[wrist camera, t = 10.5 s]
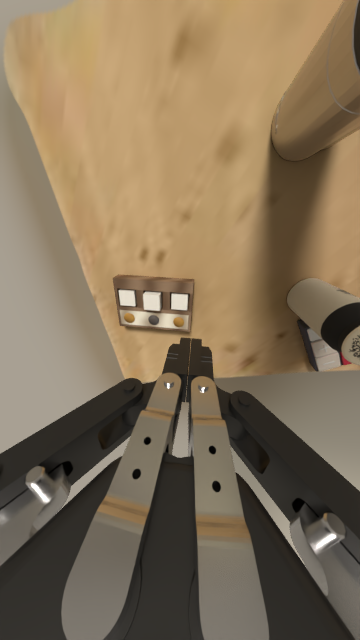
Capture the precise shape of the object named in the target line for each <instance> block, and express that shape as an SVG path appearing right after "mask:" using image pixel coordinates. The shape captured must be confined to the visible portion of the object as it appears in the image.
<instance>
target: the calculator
mask: <svg viewBox="0 0 360 640" xmlns="http://www.w3.org/2000/svg"><path fill="white" fill-rule="evenodd" d="M297 323H298V326H299V329H300V332H301V335H302V337H303V341H304V344H305V348H306V351H307V354H308V358H309V361H310V364H311V365H312V366H313V368H314V369H315V370H316V371H324V370H328V369H332V368H336V367H339V366H341V365H347V364H351V363H350V362H349V361H347V360H346V359H345V358H344V356H343V355H342V352H338V351H336V350H334V349H332V348H331V347H330V346H329V345H328V344H327V343H326V342H325V341H324V340H323V339H322V338H321V337H319V336H318V335H317V334H316V333H315V332H314V331H313V330H312V329H311V328H310V327H309V326H308V325H307V324H306V323H305V322H304V321H303V320H302V319H299V320H298V321H297Z"/></svg>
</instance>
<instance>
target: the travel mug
mask: <svg viewBox="0 0 360 640" xmlns="http://www.w3.org/2000/svg"><path fill="white" fill-rule="evenodd" d="M287 303H288V306H289V307H290V309H291V310H292V311H294V312H295V313H296V314H297V315H298V316H299V317H300V318H301V319H302V320H303V321H304V322H305V323H306V324H307V325H308V326H309V327H310V328H311V329H312V330H313V331H314V332H315V333H316V334H317V335H318V336H319V337H321V338H322V339H323V340H324V341H325V342H326V343H327V344H328V345H329V346H330V347H331V348H332V349H334V350H336V351H338V352H342V355H343V356H344V358H345V359H346V360H347V361H349V362H350V363H353V364H356V365H360V298H358V297H356V296H354V295H352V294H350V293H348V292H346V291H344V290H341V289H339V288H337V287H335V286H333V285H331V284H329V283H327V282H325V281H322V280H320V279H317V278H309V279H305V280H302V281H300V282H298V283H297V284H296V285H295V286H293V288H292V289H291V290H290V292H289V294H288V296H287Z"/></svg>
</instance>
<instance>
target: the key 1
mask: <svg viewBox="0 0 360 640" xmlns="http://www.w3.org/2000/svg"><path fill="white" fill-rule="evenodd" d="M119 298H120V305H124V306H136V305H137V296H136V290H132V289H120V290H119Z"/></svg>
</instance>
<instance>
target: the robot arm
mask: <svg viewBox="0 0 360 640" xmlns="http://www.w3.org/2000/svg"><path fill="white" fill-rule="evenodd" d="M359 129H360V0H343V2H342V4H341V5H340V7H339V8H338V10H337V12H336V13H335V15H334V16H333V18H332V19H331V21H330V23H329V24H328V26H327V27H326V29H325V31H324V32H323V34H322V35H321V37H320V38H319V40H318V42H317V43H316V45H315V46H314V48H313V50H312V51H311V53H310V54H309V56H308V57H307V59H306V61H305V62H304V64H303V65H302V67H301V69H300V70H299V72H298V73H297V75H296V76H295V78H294V80H293V81H292V83H291V84H290V86H289V88H288V89H287V91H286V92H285V93H284V95H283V97H282V99H281V101H280V102H279V104H278V106H277V109H276V111H275V114H274V118H273V121H272V129H271V133H272V142H273V146H274V148H275V150H276V152H277V153H278V154H279V155H280V156H281V157H282V158H284V159H286V160H289V161H299V160H303V159H306V158H308V157H310V156H312V155H313V154H315V153H316V152H318V151H320V150H321V149H327V148H329V147H331V146H332V145H334V144H336V143H337V142H339V141H341V140H342V139H344V138H346V137H347V136H349V135H351V134H352V133H354V132H355V131H357V130H359ZM190 343H191V351H190ZM189 356H190V361H189ZM188 367H189V372H188ZM187 377H188V385H187ZM186 386H187V397H186ZM185 397H186V402H189V413H188V443H189V444H188V445H189V446H188V457H183V458H177V457H175V456H173V455H172V450H173V444H174V439H175V433H176V429H177V424H178V419H179V414H180V410H181V403H182V402H185ZM128 437H130V439H129V441H128V444H127V446H126V449H125V451H124V454H123V456H121V457H119V458H118V459H116V460H115V461H113V462H112V463H110V464H109V465H108V466H107V467H106V468H105V469H104V470H103V471H102V472H100V473H99V474H98V475H97V476H96V477H95V478H94V479H93V480H92V481H91V482H90V483H89V484H88V485H87V486H86V487H84V488H83V489H82V490H81V491H80V492H79V493H78V494H77V495H76V496H75V497H74V498H73V499H72V500H71V501H69V502H68V503H67V504H66V505H65V506H64V507H63V508H62V506H63V505H64V503H65V502H66V500H67V498H68V496H69V493H70V488H71V486H72V485H73V484H74V483H75V482H76V481H77V480H79V479H80V478H81V477H82V476H83V475H84V474H86V473H87V472H88V471H89V470H91V469H92V468H93V467H94V466H95V465H96V464H98V463H99V462H100V461H101V460H102V459H104V458H105V457H106V456H107V455H108V454H110V453H111V452H112V451H113V450H114V449H115V448H117V447H118V446H119V445H120V444H121V443H123V442H124V441H125V440H126V439H127V438H128ZM230 445H231V447H232V448H233V449H234V451H235V452H236V453H237V454H238V456H239V457H240V458H241V459H242V461H243V462H244V463H245V465H246V466H247V467H248V469H249V470H250V471H251V472H252V474H253V475H254V476H255V478H256V479H257V480H258V482H259V483H260V484H261V485H262V487H263V488H264V489H265V491H266V492H267V493H268V494H269V496H270V497H271V498H272V500H273V501H274V502H275V503H276V505H277V506H278V507H279V508H280V510H281V511H282V512H283V514H284V515H285V516H286V518H287V519H288V520H289V521H290V533H291V538H292V541H293V544H294V546H295V548H296V550H297V552H298V553H299V555H300V557H301V558H302V560H303V561H304V563H305V565H304V564H303V563H302V561H301V560H300V558H299V557H298V555H297V554H296V553H295V551H294V550H293V548H292V547H291V545H290V544H289V543H288V541H287V540H286V538H285V537H284V535H283V534H282V532H281V531H280V529H279V528H278V527H277V525H276V524H275V522H274V521H273V519H272V518H271V516H270V515H269V513H268V512H267V511H266V509H265V508H264V506H263V505H262V503H261V502H260V500H259V499H258V498H257V496H256V495H255V493H254V492H253V490H252V489H251V488H250V486H249V485H248V484H247V483H246V481H244V479H243V478H242V477H241V476H240V475H239V474H237V473H236V472H235V468H234V463H233V458H232V452H231V447H230ZM61 508H62V509H61ZM60 509H61V510H60ZM59 510H60V511H59ZM58 511H59V512H58ZM57 512H58V513H57ZM56 513H57V514H56ZM305 566H306V567H305ZM0 640H360V491H359V490H357V489H356V488H355V487H354V486H353V485H352V484H351V483H350V482H349V481H347V480H346V479H345V478H344V477H343V476H342V475H341V474H340V473H339V472H337V471H336V470H335V469H334V468H333V467H332V466H331V465H330V464H328V463H327V462H326V461H325V460H324V459H323V458H322V457H321V456H319V455H318V454H317V453H316V452H315V451H314V450H313V449H312V448H311V447H309V446H308V445H307V444H306V443H305V442H303V440H302V439H301V438H299V437H298V436H297V435H296V434H295V433H294V432H293V431H292V430H290V429H289V428H288V427H287V426H286V425H285V424H284V423H282V422H281V421H280V420H279V419H278V418H277V417H276V416H275V415H274V414H273V413H271V412H270V411H269V410H268V409H267V408H266V407H265V406H264V405H262V404H261V403H260V402H259V401H258V400H257V399H256V398H255V397H253V396H252V395H251V394H249V393H247V392H245V391H235V392H233V393H232V394H230V393H228V392H225V391H223V390H221V389H220V388H218V387H217V385H216V384H215V382H214V378H213V364H212V352H211V350H210V349H209V347H204V346H202V339H192V340H191V338H181V340H180V344H172V345H171V346H170V347H169V350H168V354H167V358H166V361H165V365H164V369H163V372H162V375H161V376H159V378H158V379H157V380H156V381H154V382H152V383H146V384H142V383H141V381H140V380H138V379H135V378H129V379H125V380H123V381H122V382H120V383H118V384H117V385H115V386H114V387H112V388H110V389H108V390H106V391H105V392H103V393H102V394H100V395H98V396H96V397H95V398H93V399H91V400H90V401H88V402H86V403H85V404H83V405H82V406H80V407H78V408H76V409H75V410H73V411H71V412H70V413H68V414H66V415H65V416H63V417H61V418H60V419H58V420H57V421H55V422H53V423H51V424H50V425H48V426H46V427H45V428H43V429H41V430H40V431H38V432H36V433H35V434H33V435H31V436H30V437H28V438H26V439H24V440H23V441H21V442H19V443H18V444H16V445H15V446H13V447H11V448H9V449H8V450H6V451H4V452H3V453H1V454H0Z"/></svg>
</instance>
